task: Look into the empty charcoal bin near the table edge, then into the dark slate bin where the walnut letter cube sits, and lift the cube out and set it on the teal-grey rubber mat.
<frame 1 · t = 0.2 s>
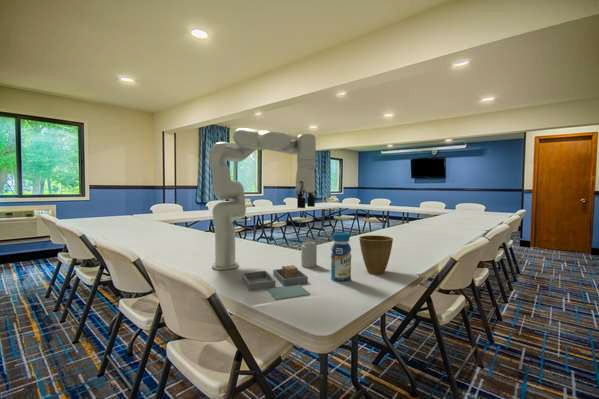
hand: (306, 207, 115), 31 cm above the table, tool pointing down, fingers open, 9 cm apart
plant pot: (375, 272, 130), on the table
beverage bottle: (340, 281, 118), on the table
can: (308, 267, 138), on the table
letter cube: (289, 279, 118), resting on bin b
bin b: (289, 280, 118), on the table
bin a: (258, 284, 113), on the table
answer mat: (288, 293, 104), on the table
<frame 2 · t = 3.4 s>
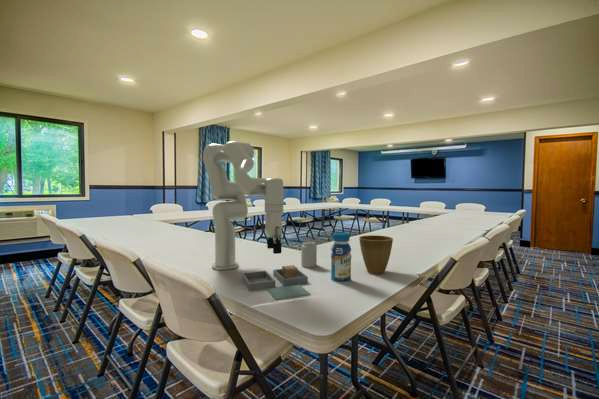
hand: (274, 250, 115), 13 cm above the table, tool pointing down, fingers open, 9 cm apart
nothing on the table moved.
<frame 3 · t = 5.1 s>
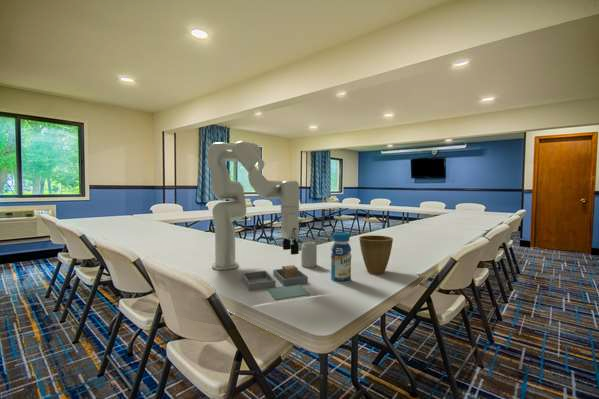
hand: (290, 251, 117), 12 cm above the table, tool pointing down, fingers open, 9 cm apart
nothing on the table moved.
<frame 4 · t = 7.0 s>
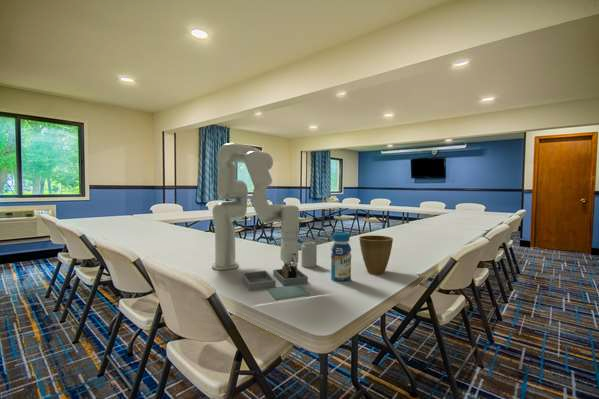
hand: (289, 277, 118), 1 cm above the table, tool pointing down, fingers closed on letter cube, 4 cm apart
letter cube: (289, 279, 118), point 1 cm above the table, touching bin b, gripper
everything else where it was.
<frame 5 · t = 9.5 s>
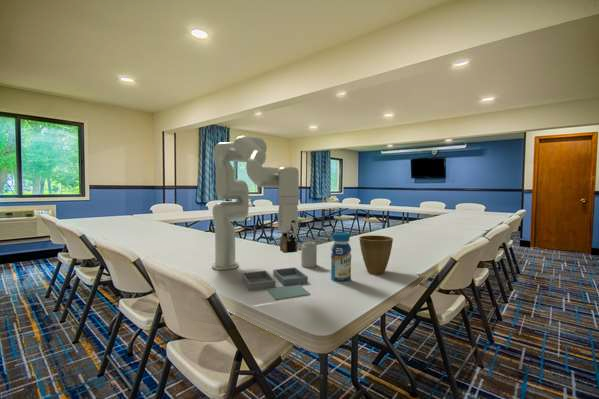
hand: (288, 249, 104), 16 cm above the table, tool pointing down, fingers closed on letter cube, 4 cm apart
letter cube: (288, 251, 104), point 15 cm above the table, touching gripper
everything else where it was.
when the fingers open (3 cm above the table, at t = 12.4 s): letter cube drops 1 cm, resting on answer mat.
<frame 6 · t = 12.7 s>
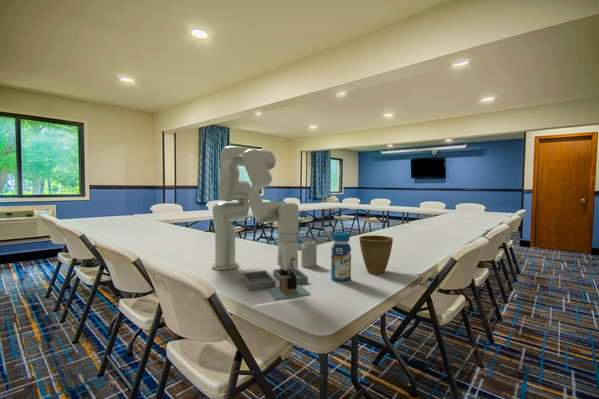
hand: (288, 284, 104), 3 cm above the table, tool pointing down, fingers open, 7 cm apart
letter cube: (288, 290, 104), point 1 cm above the table, touching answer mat
everything else where it was.
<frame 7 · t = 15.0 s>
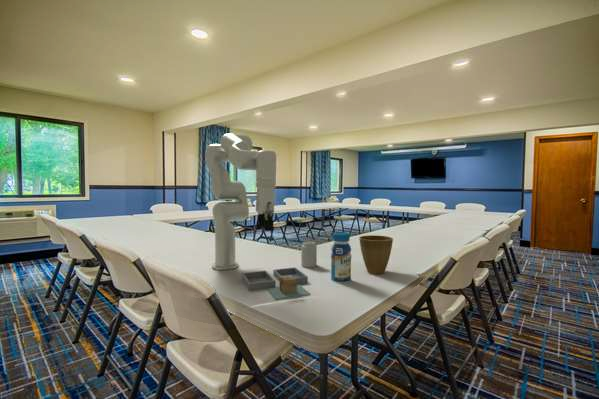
hand: (265, 228, 108), 23 cm above the table, tool pointing down, fingers open, 9 cm apart
nothing on the table moved.
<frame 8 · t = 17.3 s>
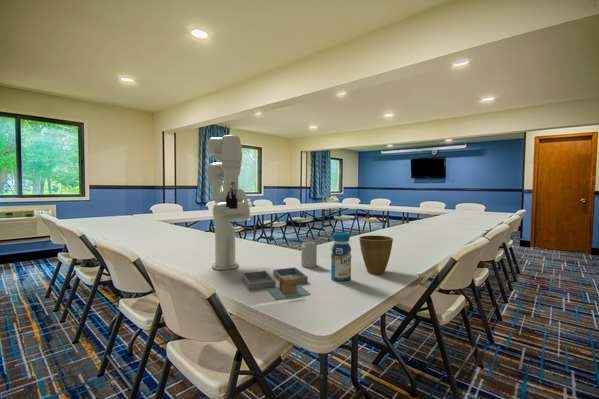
hand: (231, 207, 117), 30 cm above the table, tool pointing down, fingers open, 9 cm apart
nothing on the table moved.
at the end: letter cube inside the target area on the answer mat (0.1 cm from its centre), point 0.8 cm above the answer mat's base; letter cube tilted 0°; the gripper is holding nothing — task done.
